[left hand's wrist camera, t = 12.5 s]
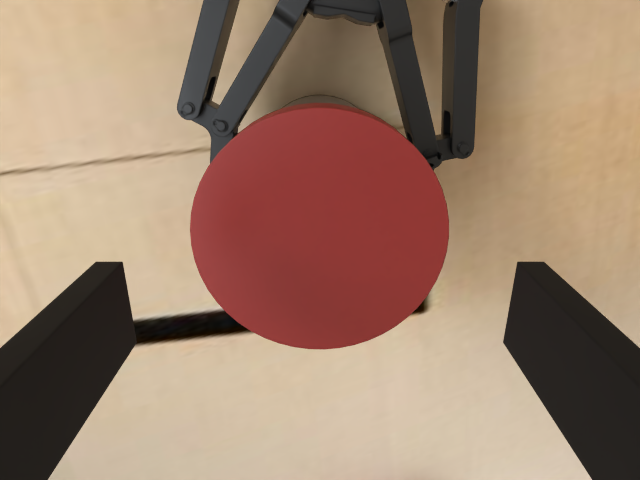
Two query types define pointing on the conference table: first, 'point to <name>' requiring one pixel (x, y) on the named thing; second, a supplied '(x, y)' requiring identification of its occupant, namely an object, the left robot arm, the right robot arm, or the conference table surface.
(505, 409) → the conference table surface
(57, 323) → the left robot arm
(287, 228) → the lid
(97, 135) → the conference table surface
